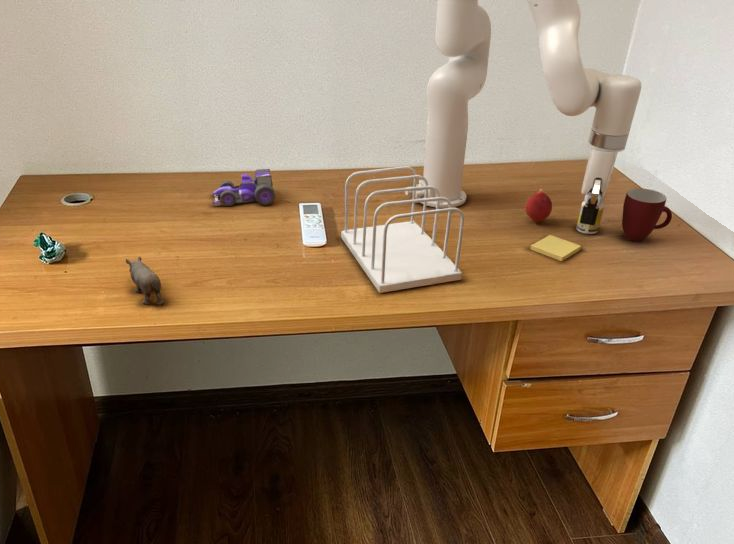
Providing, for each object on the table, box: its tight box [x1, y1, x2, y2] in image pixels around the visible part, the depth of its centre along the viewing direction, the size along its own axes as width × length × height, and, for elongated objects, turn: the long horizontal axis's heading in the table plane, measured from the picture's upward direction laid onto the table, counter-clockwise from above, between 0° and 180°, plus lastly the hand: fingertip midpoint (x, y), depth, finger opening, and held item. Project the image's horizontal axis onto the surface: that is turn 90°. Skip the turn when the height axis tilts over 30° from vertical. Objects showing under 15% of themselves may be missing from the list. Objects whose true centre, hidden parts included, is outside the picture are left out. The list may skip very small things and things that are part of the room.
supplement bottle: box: [576, 193, 606, 235], centre depth 148 cm, size 5×5×8 cm
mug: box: [621, 188, 673, 243], centre depth 145 cm, size 11×8×10 cm
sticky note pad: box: [530, 234, 582, 262], centre depth 143 cm, size 8×8×1 cm
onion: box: [525, 188, 553, 224], centre depth 152 cm, size 6×6×8 cm
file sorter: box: [340, 165, 465, 294], centre depth 135 cm, size 25×17×16 cm
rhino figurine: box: [125, 256, 165, 306], centre depth 126 cm, size 4×14×6 cm, turn 33°
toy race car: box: [212, 168, 276, 207], centre depth 163 cm, size 10×15×6 cm, turn 100°
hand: (588, 215), depth 149 cm, fingers open, 9 cm apart
